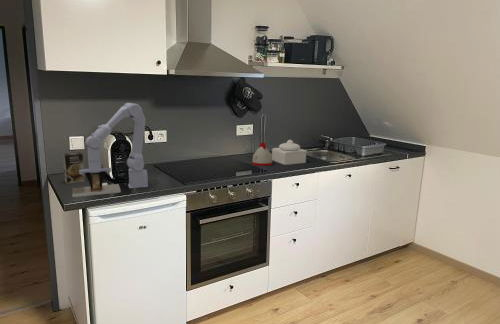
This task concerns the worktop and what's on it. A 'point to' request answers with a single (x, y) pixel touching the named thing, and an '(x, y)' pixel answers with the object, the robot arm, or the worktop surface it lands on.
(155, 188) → the worktop surface
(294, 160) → the grey lidded box
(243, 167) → the worktop surface
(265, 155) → the grey bobble hat
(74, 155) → the coffee box
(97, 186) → the peg
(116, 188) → the hole plate
